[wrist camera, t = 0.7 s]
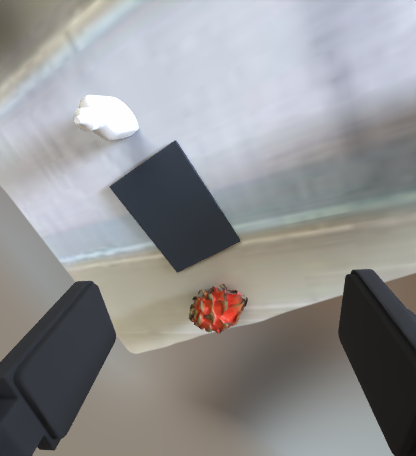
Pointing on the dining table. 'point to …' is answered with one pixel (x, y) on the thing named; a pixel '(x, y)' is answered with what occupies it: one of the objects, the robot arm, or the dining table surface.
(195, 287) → the dining table surface
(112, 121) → the eye dropper bottle
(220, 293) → the dragon fruit
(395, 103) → the dining table surface
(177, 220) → the mat
